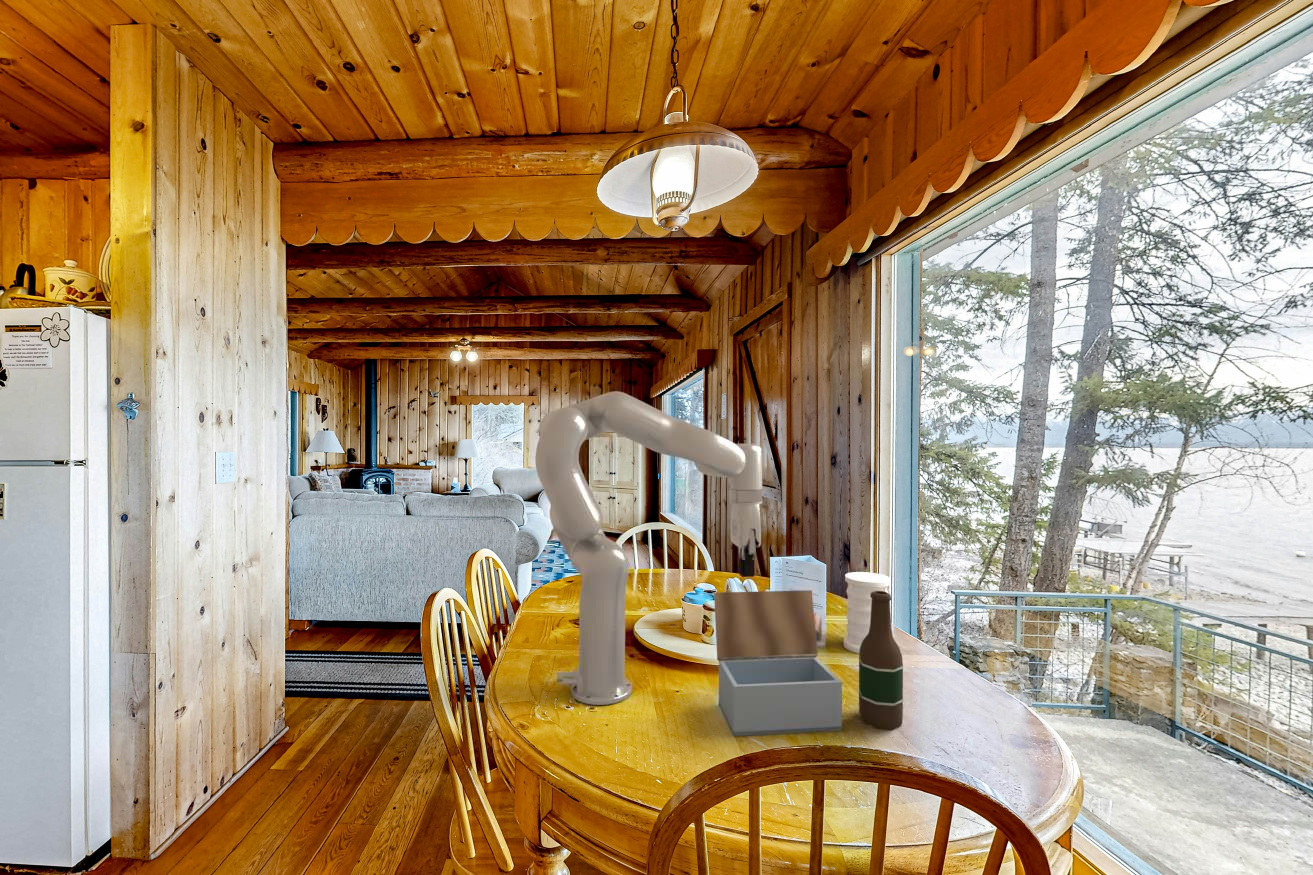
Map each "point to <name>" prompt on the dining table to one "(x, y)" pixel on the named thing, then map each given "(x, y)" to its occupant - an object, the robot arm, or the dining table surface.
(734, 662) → the crate
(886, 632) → the beer bottle
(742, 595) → the lid
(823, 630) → the packaged product
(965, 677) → the dining table surface
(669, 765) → the dining table surface
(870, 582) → the decorative container
